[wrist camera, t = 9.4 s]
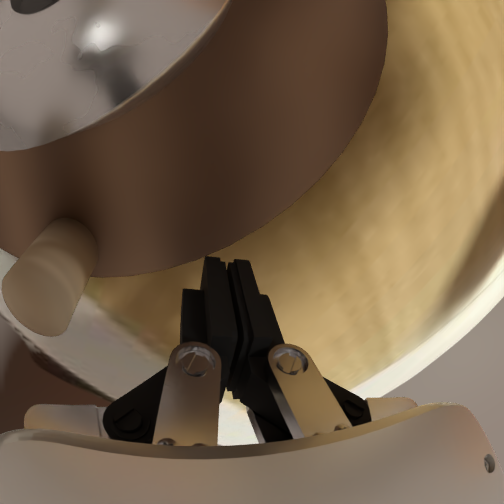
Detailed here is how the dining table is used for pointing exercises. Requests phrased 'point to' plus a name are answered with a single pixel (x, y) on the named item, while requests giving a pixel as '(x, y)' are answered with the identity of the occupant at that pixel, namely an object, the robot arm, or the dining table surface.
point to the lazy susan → (191, 154)
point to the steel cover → (91, 60)
